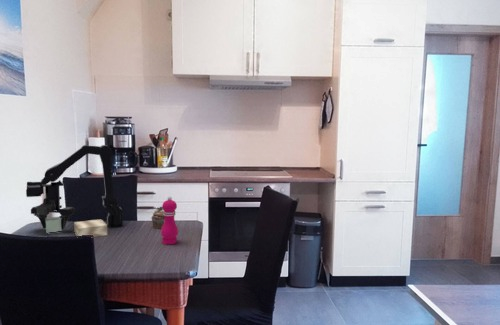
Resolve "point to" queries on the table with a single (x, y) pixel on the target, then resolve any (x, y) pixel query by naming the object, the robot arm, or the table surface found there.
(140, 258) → the table surface
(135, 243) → the table surface
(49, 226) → the cube
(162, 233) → the pepper mill
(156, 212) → the cupcake
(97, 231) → the birch box
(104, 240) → the table surface
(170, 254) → the table surface
